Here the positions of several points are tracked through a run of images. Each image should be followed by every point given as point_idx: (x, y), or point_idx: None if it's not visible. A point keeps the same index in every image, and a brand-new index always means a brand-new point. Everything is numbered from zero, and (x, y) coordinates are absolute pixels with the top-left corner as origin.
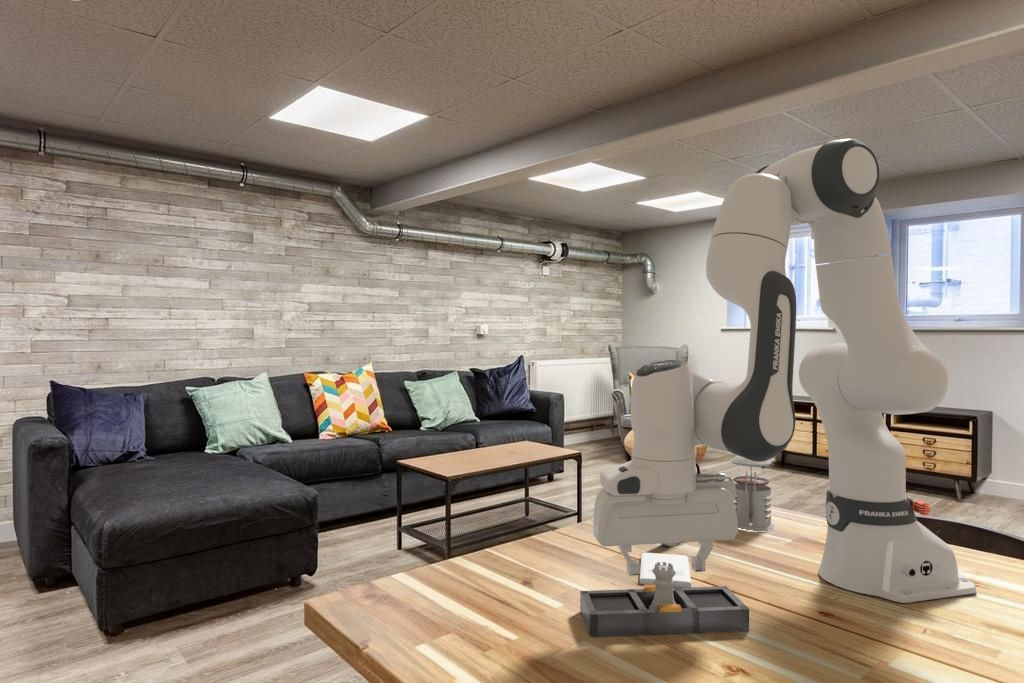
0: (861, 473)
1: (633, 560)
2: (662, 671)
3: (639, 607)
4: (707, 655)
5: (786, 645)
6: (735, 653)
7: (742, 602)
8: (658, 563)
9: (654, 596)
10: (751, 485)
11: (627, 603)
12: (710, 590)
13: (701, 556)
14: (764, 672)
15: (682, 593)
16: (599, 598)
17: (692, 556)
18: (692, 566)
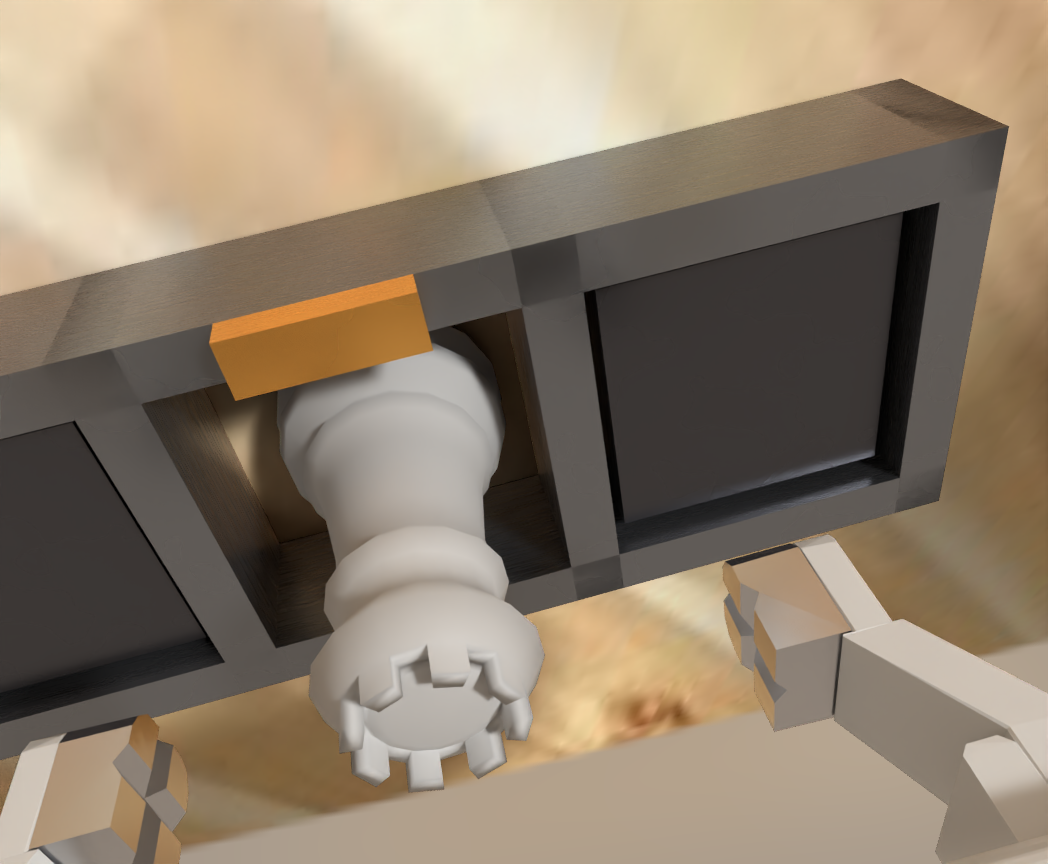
0: None
1: (82, 858)
2: (364, 792)
3: (219, 634)
4: (571, 662)
5: (956, 513)
6: (698, 621)
7: (953, 421)
8: (379, 707)
9: (326, 520)
10: None
11: (106, 536)
12: (832, 227)
13: (866, 724)
14: (752, 704)
15: (570, 358)
16: None
17: (791, 648)
18: (735, 602)
